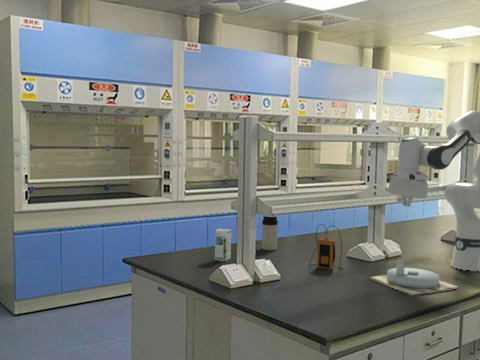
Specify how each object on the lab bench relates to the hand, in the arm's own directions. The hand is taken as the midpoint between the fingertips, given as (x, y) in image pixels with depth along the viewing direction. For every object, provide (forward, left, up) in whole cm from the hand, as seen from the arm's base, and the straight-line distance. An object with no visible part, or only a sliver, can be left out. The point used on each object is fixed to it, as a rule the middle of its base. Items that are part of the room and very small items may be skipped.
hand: (406, 206), depth 222 cm
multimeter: (+27, -19, -29) cm, 44 cm away
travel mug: (+35, -60, -29) cm, 75 cm away
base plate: (+11, +17, -29) cm, 35 cm away
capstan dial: (+11, +17, -28) cm, 34 cm away
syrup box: (+67, -47, -29) cm, 87 cm away
